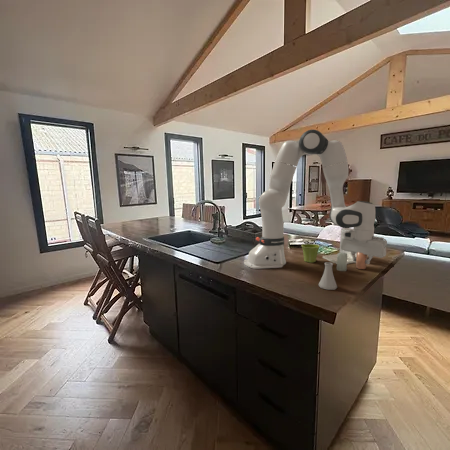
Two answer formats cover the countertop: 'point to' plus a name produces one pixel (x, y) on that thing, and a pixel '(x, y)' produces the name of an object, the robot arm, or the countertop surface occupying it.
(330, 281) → the flask
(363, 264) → the terracotta part
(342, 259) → the sage part
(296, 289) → the countertop surface
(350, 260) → the service unit
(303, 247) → the plant pot
